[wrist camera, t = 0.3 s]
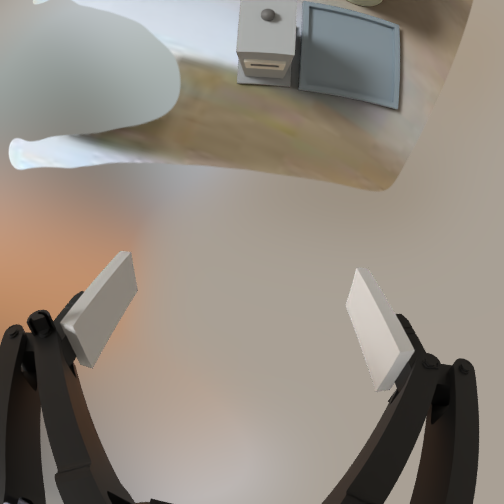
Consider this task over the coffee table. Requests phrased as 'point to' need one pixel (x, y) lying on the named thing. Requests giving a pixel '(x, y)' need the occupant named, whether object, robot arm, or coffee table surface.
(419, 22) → the coffee table surface
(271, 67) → the box
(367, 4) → the can
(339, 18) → the tray
